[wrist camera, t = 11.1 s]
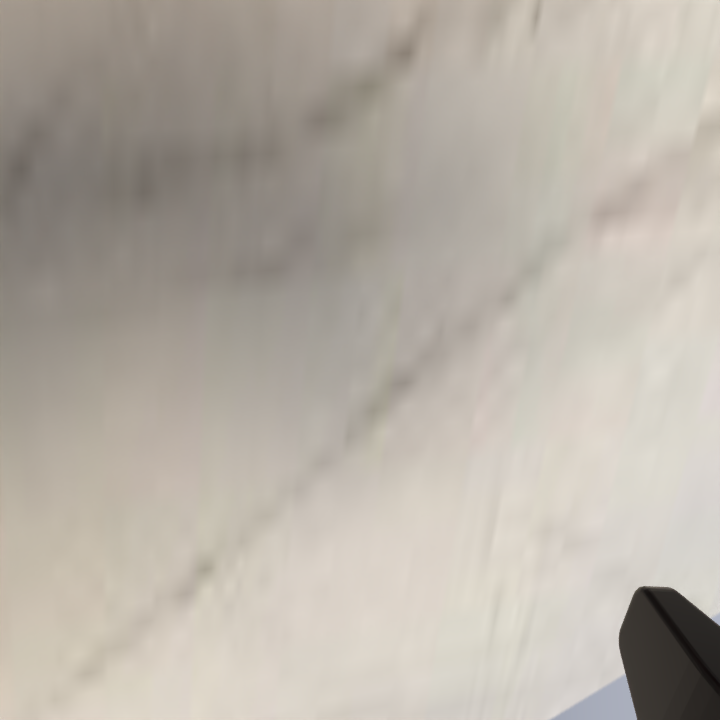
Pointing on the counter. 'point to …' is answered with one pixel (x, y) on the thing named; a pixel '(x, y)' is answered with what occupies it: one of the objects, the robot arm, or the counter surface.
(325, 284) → the counter surface
